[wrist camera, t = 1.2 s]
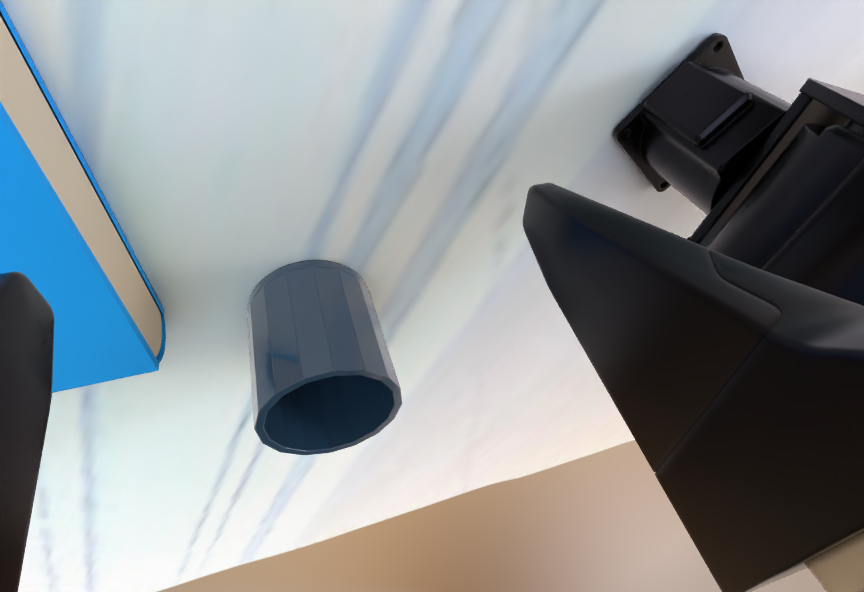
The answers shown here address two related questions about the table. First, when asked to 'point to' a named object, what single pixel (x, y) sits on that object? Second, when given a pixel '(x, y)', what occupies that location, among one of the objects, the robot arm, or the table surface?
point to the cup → (318, 360)
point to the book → (68, 236)
